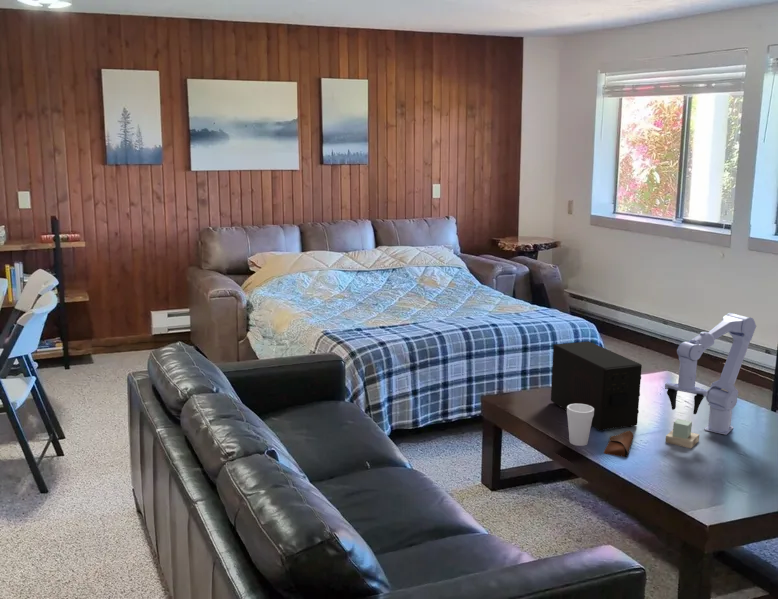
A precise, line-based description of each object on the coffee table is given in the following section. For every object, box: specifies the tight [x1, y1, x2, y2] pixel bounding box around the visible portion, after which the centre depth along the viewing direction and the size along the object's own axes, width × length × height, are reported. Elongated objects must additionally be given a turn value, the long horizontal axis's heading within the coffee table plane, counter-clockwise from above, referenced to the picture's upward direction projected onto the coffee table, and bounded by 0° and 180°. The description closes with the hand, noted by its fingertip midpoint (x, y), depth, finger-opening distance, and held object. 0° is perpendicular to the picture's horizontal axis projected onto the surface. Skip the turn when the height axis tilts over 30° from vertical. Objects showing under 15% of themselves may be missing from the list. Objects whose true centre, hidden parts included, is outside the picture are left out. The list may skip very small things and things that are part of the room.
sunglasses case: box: [603, 430, 634, 458], centre depth 280 cm, size 18×7×7 cm
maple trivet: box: [664, 429, 700, 449], centre depth 285 cm, size 9×9×3 cm
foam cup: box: [566, 404, 594, 447], centre depth 283 cm, size 10×9×13 cm
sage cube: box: [672, 418, 693, 439], centre depth 284 cm, size 5×5×5 cm
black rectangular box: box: [550, 341, 643, 432], centre depth 309 cm, size 38×20×25 cm, turn 20°
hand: (684, 411), depth 287 cm, fingers open, 7 cm apart
